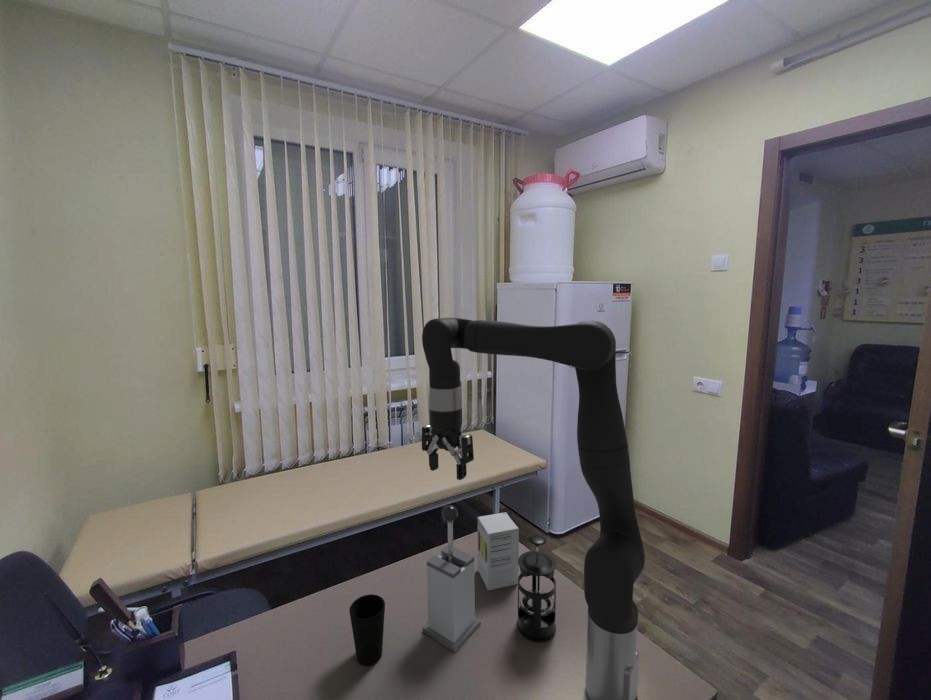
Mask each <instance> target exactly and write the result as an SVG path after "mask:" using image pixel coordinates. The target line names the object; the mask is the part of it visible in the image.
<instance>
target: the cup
mask: <svg viewBox="0 0 931 700" xmlns="http://www.w3.org/2000/svg"><path fill="white" fill-rule="evenodd" d="M385 610H386V602H385V599H384V598H383V597H381V596H380V595H377V594H373V593H372V594H365V595H362V596H359V597H357V598H356V599H355V600H353V602H352V603H351V605H350V607H349V617H350V623H351V631H352V636H353V637H352V638H353V643H354V648H355V655H356V656H355V657H356V661H357V663H358V665H360V666H362V667H370V666H373V665H376V664H377V663H379V662H380V660H381V658H382V656H383V646H384V644H383V643H384V642H383V641H384V630H385V626H384V625H385Z"/></svg>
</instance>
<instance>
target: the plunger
mask: <svg viewBox="0 0 931 700" xmlns="http://www.w3.org/2000/svg"><path fill="white" fill-rule="evenodd" d="M458 512H459V511H458V509H457V507H456V506H454V505H452V504H448V505H446V506H445V507H443V509H442V512H441V513H442V514H441V515H442V517H443V519H444V521H446V522H447V546H448V560H447V562H449V563H451V564H453V565H456V566H458V567H460V568H462V567H463V566H464V565H462V564H460V563H458V562H456V561H454V560H453V547H454V525H453V524H454V521H455V520H456V519H457V518H458V514H459V513H458Z"/></svg>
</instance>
